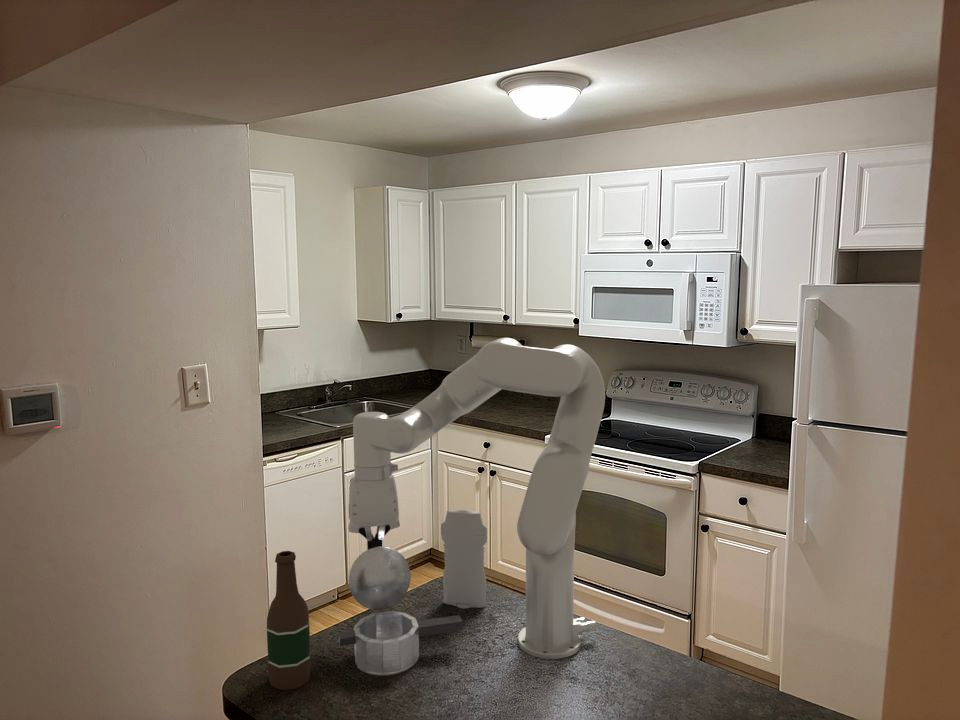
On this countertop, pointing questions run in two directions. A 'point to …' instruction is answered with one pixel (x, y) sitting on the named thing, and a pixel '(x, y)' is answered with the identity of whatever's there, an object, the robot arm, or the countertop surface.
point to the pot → (392, 640)
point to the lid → (379, 578)
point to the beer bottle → (288, 629)
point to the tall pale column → (464, 559)
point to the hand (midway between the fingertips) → (375, 556)
